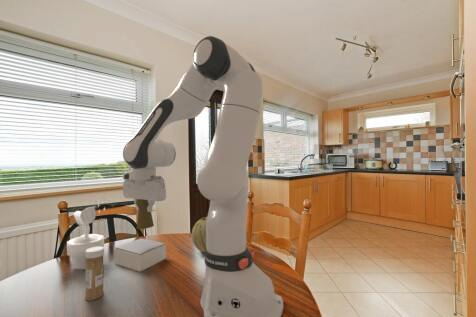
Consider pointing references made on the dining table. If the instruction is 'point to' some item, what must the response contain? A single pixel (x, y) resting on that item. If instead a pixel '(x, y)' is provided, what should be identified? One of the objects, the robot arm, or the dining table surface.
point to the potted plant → (84, 238)
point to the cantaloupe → (199, 234)
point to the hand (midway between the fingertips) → (143, 210)
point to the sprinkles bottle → (94, 272)
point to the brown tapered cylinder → (144, 215)
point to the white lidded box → (140, 254)
